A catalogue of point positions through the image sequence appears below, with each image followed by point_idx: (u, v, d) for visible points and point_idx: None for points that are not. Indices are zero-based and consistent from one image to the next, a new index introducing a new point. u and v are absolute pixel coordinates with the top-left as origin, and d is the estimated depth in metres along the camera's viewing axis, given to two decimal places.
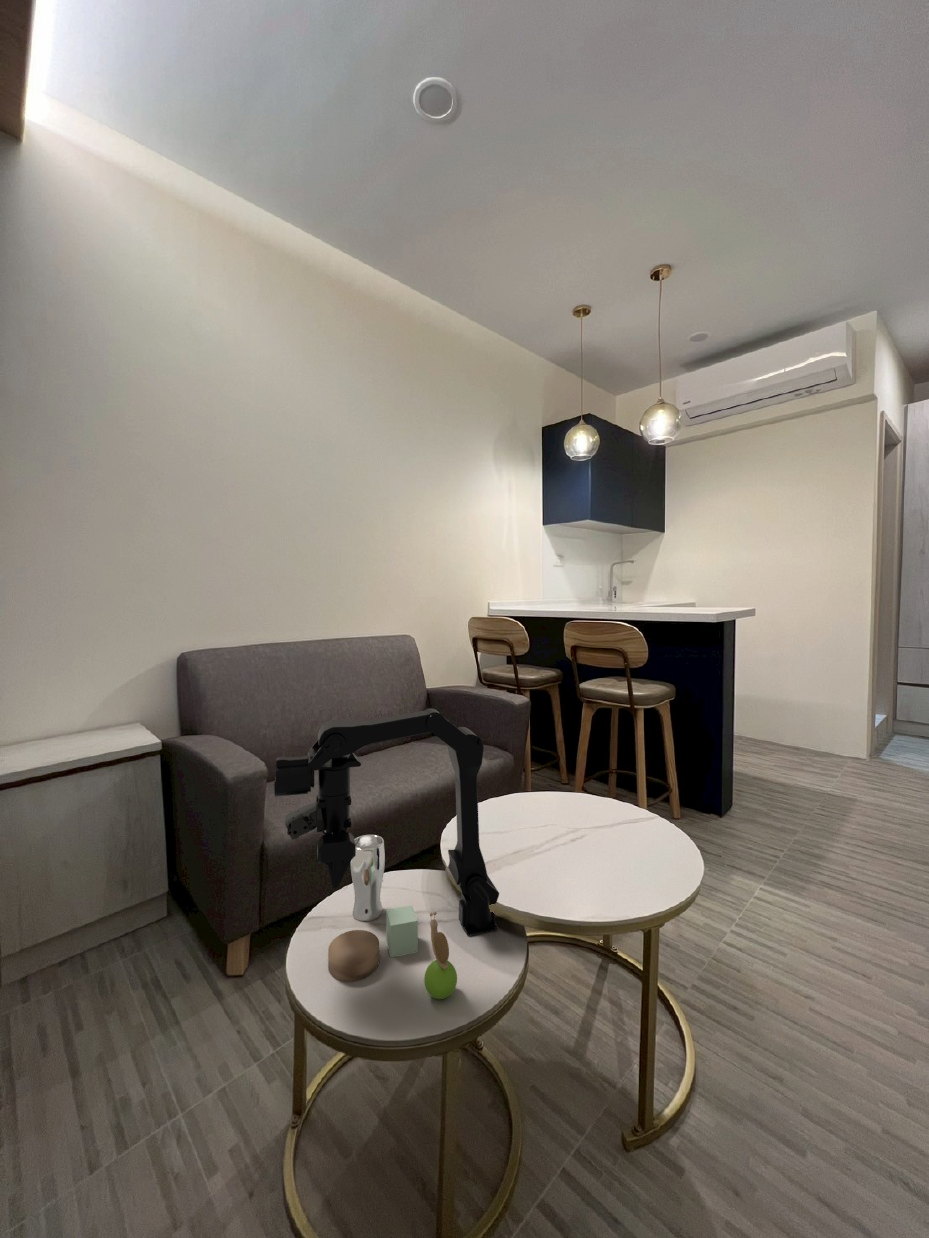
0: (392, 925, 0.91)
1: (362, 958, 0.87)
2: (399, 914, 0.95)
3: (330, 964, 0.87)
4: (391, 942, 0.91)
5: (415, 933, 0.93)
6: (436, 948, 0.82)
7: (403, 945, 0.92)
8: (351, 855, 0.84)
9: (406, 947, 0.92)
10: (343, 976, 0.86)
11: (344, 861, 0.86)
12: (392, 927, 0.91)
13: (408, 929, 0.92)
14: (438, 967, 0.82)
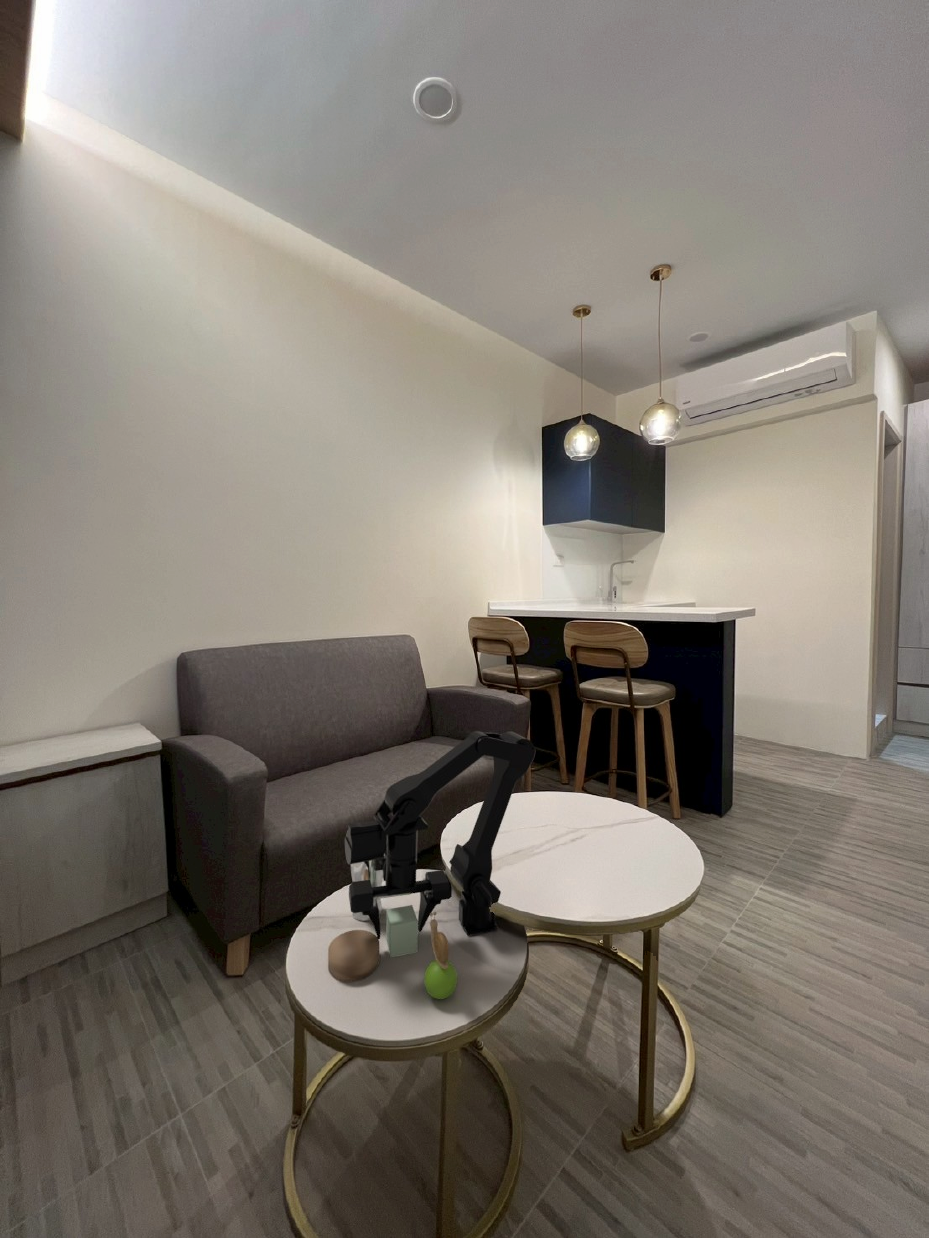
0: (392, 925, 0.91)
1: (362, 958, 0.87)
2: (399, 914, 0.95)
3: (330, 964, 0.87)
4: (391, 942, 0.91)
5: (415, 933, 0.93)
6: (436, 948, 0.82)
7: (403, 945, 0.92)
8: None
9: (406, 947, 0.92)
10: (343, 976, 0.86)
11: None
12: (392, 927, 0.91)
13: (408, 929, 0.92)
14: (438, 967, 0.82)
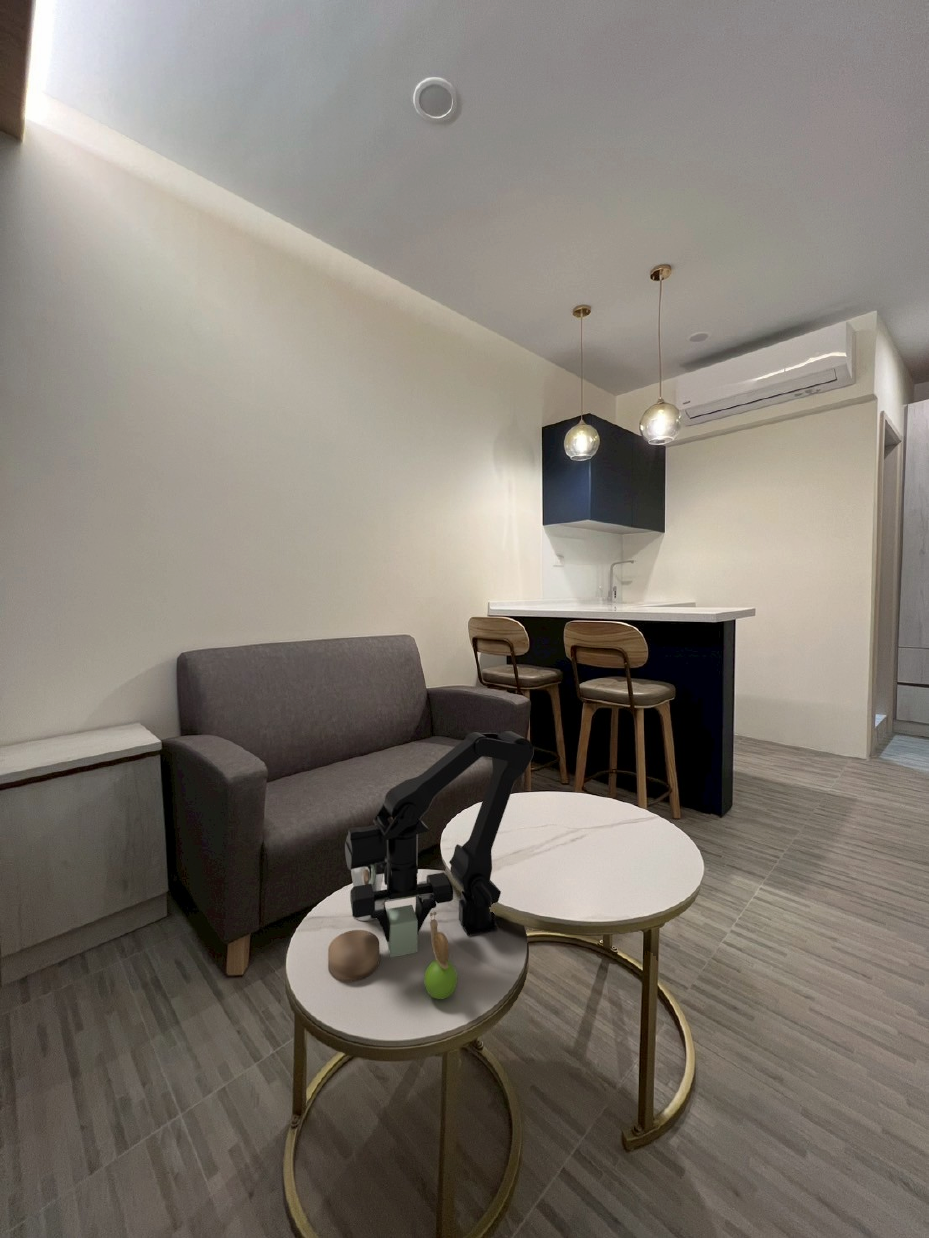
0: (392, 925, 0.91)
1: (362, 958, 0.87)
2: (399, 913, 0.95)
3: (330, 964, 0.87)
4: (391, 942, 0.91)
5: (415, 933, 0.93)
6: (436, 948, 0.82)
7: (403, 945, 0.92)
8: (352, 913, 0.89)
9: (406, 947, 0.92)
10: (343, 976, 0.86)
11: None
12: (392, 927, 0.91)
13: (408, 929, 0.92)
14: (438, 967, 0.82)
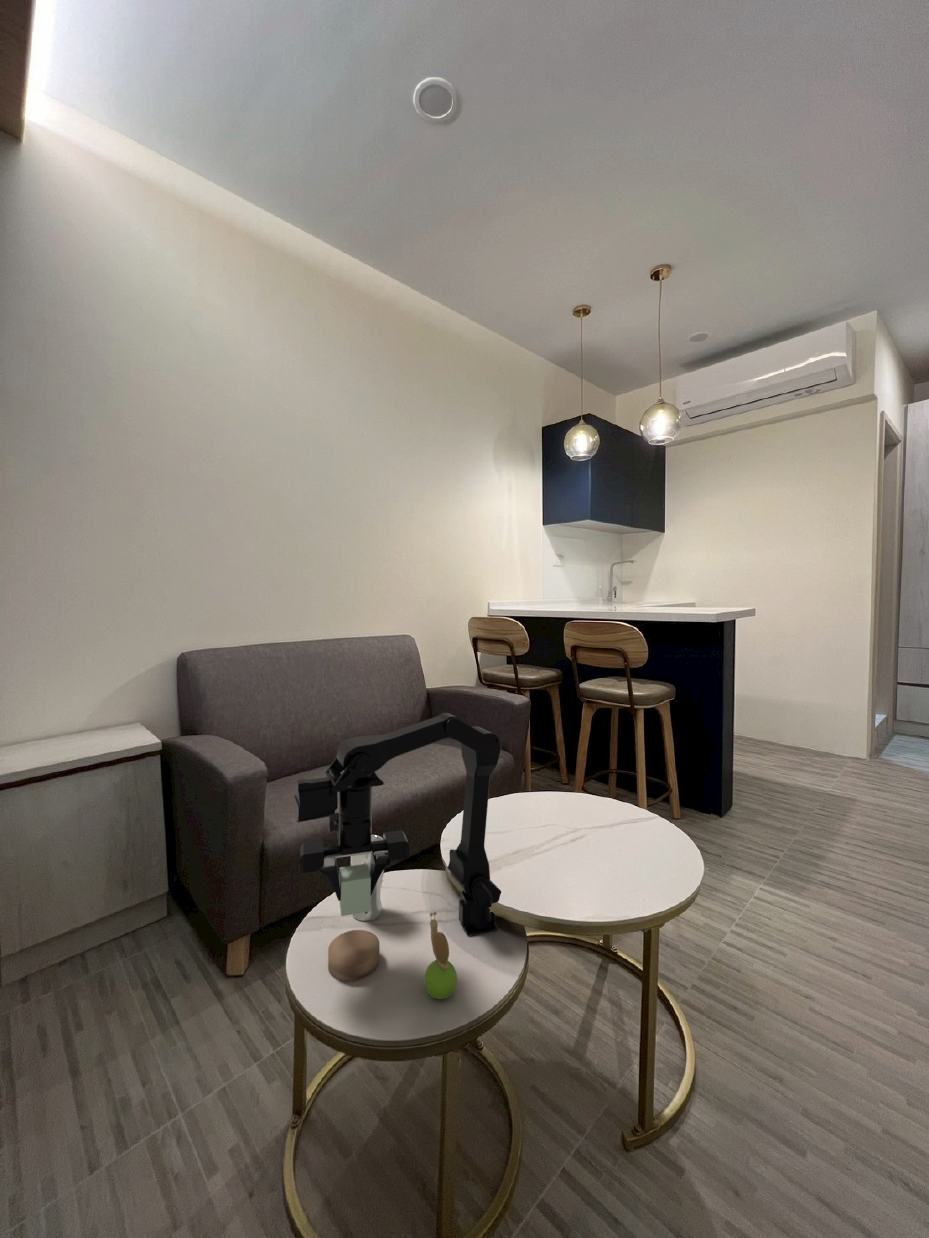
0: (343, 882, 0.86)
1: (362, 958, 0.87)
2: (352, 871, 0.90)
3: (330, 964, 0.87)
4: (342, 900, 0.86)
5: (368, 891, 0.88)
6: (436, 948, 0.82)
7: (354, 903, 0.87)
8: None
9: (358, 905, 0.87)
10: (343, 976, 0.86)
11: None
12: (343, 884, 0.86)
13: (360, 887, 0.87)
14: (438, 967, 0.82)
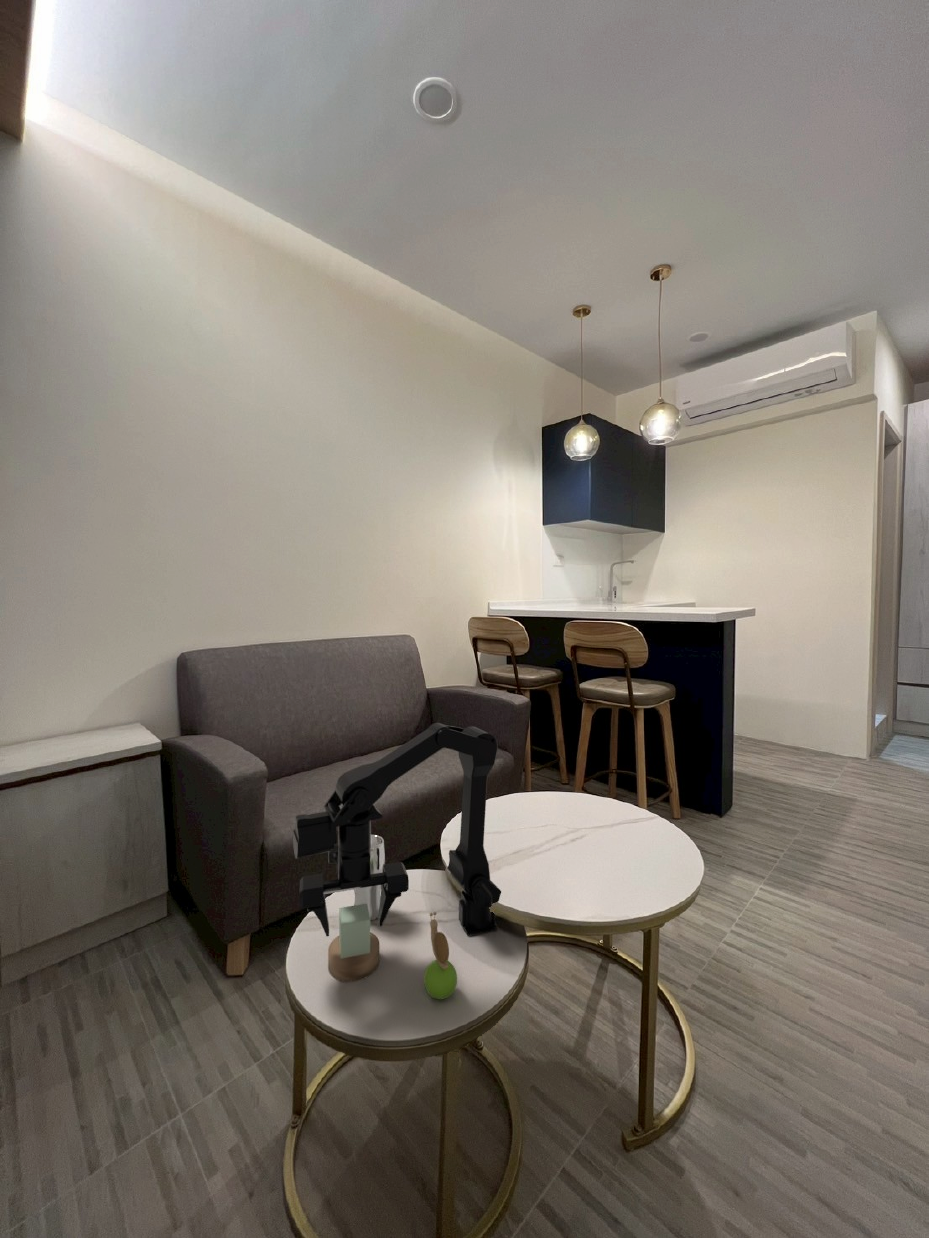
0: (343, 924, 0.87)
1: (362, 958, 0.87)
2: (351, 913, 0.90)
3: (330, 964, 0.87)
4: (342, 942, 0.87)
5: (368, 933, 0.88)
6: (436, 948, 0.82)
7: (354, 945, 0.87)
8: (299, 904, 0.84)
9: (358, 948, 0.88)
10: (343, 976, 0.86)
11: None
12: (343, 927, 0.87)
13: (360, 929, 0.88)
14: (438, 967, 0.82)
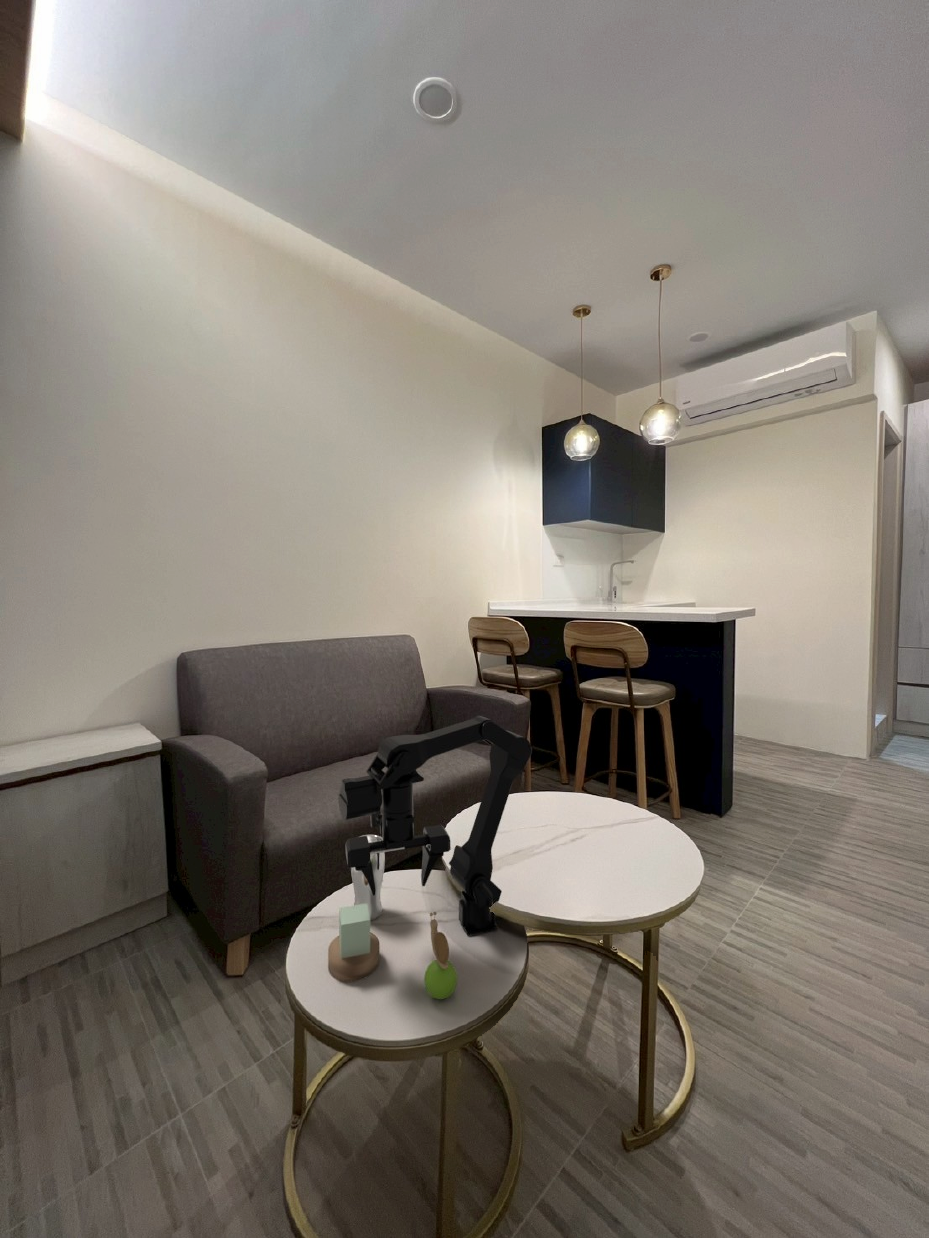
0: (343, 924, 0.87)
1: (362, 958, 0.87)
2: (351, 913, 0.90)
3: (330, 964, 0.87)
4: (342, 942, 0.87)
5: (368, 933, 0.88)
6: (436, 948, 0.82)
7: (354, 945, 0.87)
8: (347, 863, 0.87)
9: (358, 948, 0.88)
10: (343, 976, 0.86)
11: None
12: (343, 927, 0.87)
13: (360, 929, 0.88)
14: (438, 967, 0.82)
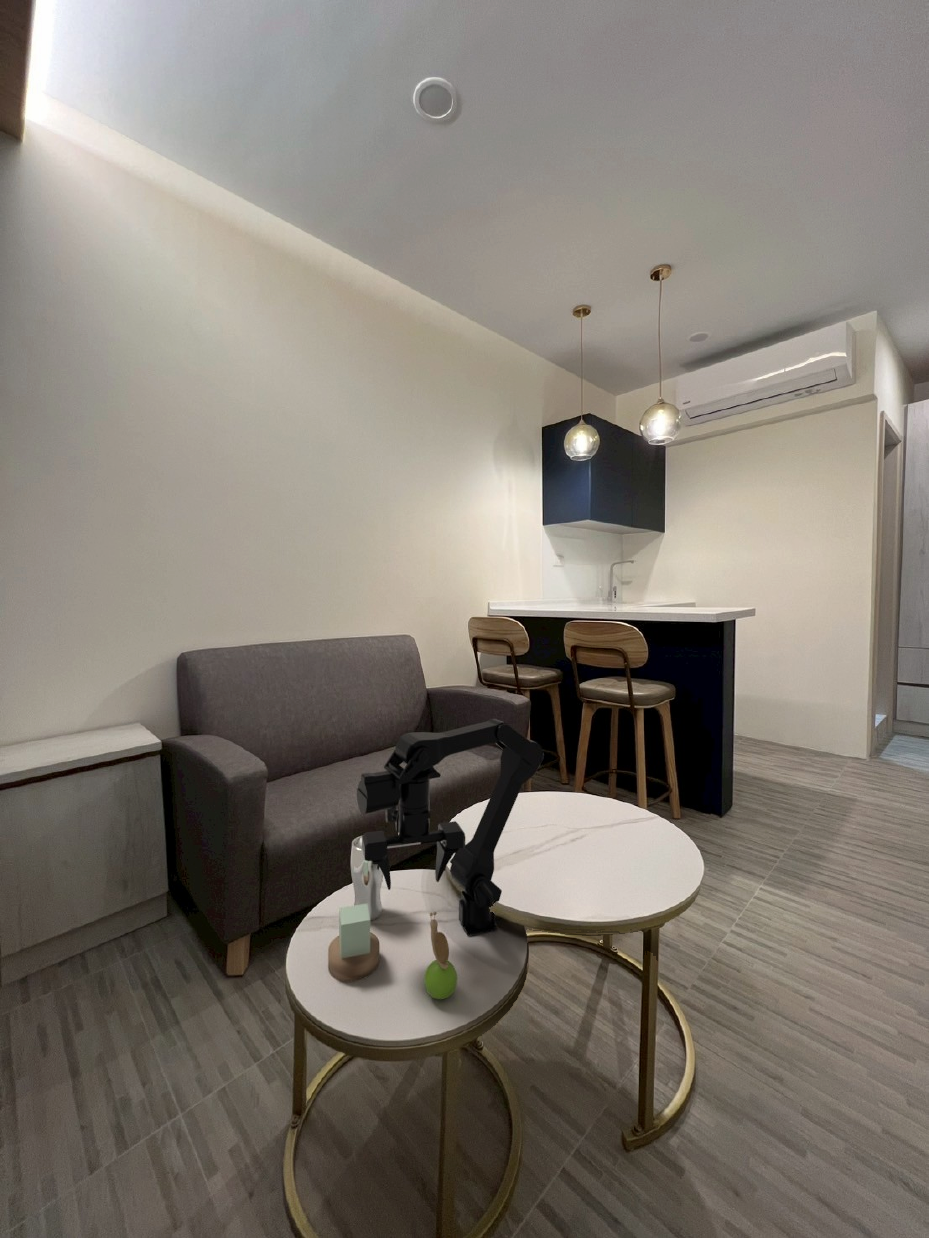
0: (343, 924, 0.87)
1: (362, 958, 0.87)
2: (351, 913, 0.90)
3: (330, 964, 0.87)
4: (342, 942, 0.87)
5: (368, 933, 0.88)
6: (436, 948, 0.82)
7: (354, 945, 0.87)
8: (364, 857, 0.88)
9: (358, 948, 0.88)
10: (343, 976, 0.86)
11: None
12: (343, 927, 0.87)
13: (360, 929, 0.88)
14: (438, 967, 0.82)
